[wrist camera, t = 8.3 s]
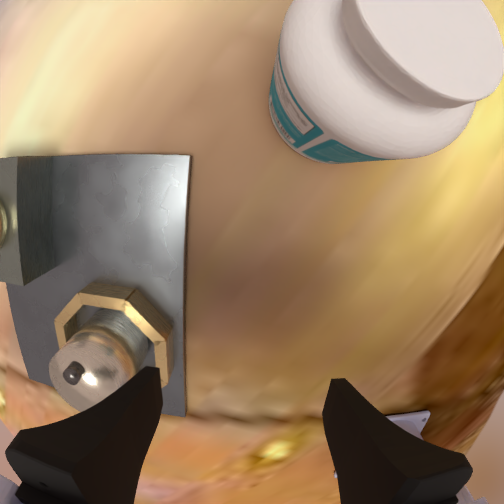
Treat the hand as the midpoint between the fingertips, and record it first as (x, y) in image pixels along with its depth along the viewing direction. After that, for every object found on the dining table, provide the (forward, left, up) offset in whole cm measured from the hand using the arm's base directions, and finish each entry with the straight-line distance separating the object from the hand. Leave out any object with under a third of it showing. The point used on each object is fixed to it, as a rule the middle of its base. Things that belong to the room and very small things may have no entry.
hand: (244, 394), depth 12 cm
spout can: (-4, +9, -9) cm, 13 cm away
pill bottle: (+13, -4, -10) cm, 17 cm away
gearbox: (-1, +12, -9) cm, 15 cm away
